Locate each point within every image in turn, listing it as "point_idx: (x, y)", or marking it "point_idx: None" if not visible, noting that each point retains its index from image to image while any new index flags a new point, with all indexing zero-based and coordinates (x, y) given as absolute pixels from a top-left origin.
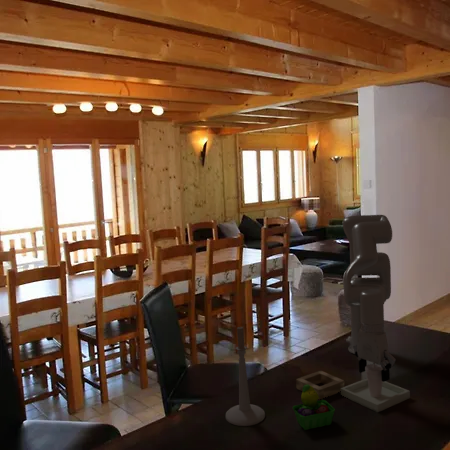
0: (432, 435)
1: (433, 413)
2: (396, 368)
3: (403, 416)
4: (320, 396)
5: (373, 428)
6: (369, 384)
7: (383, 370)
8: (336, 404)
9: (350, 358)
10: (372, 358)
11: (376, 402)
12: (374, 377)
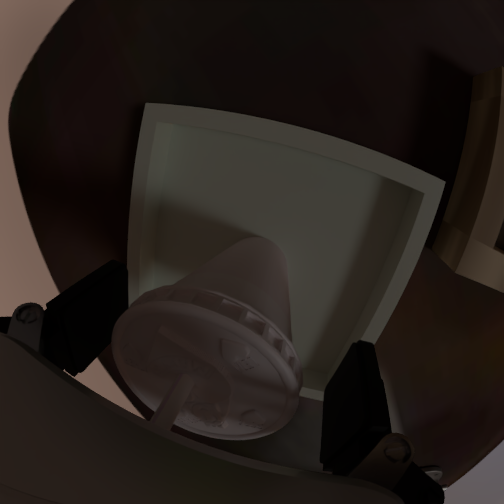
0: (21, 122)
1: (54, 244)
2: (296, 463)
3: (87, 158)
4: (481, 79)
5: (133, 5)
6: (258, 260)
7: (50, 311)
8: (389, 62)
9: (436, 452)
10: (16, 413)
11: (208, 185)
12: (179, 280)
